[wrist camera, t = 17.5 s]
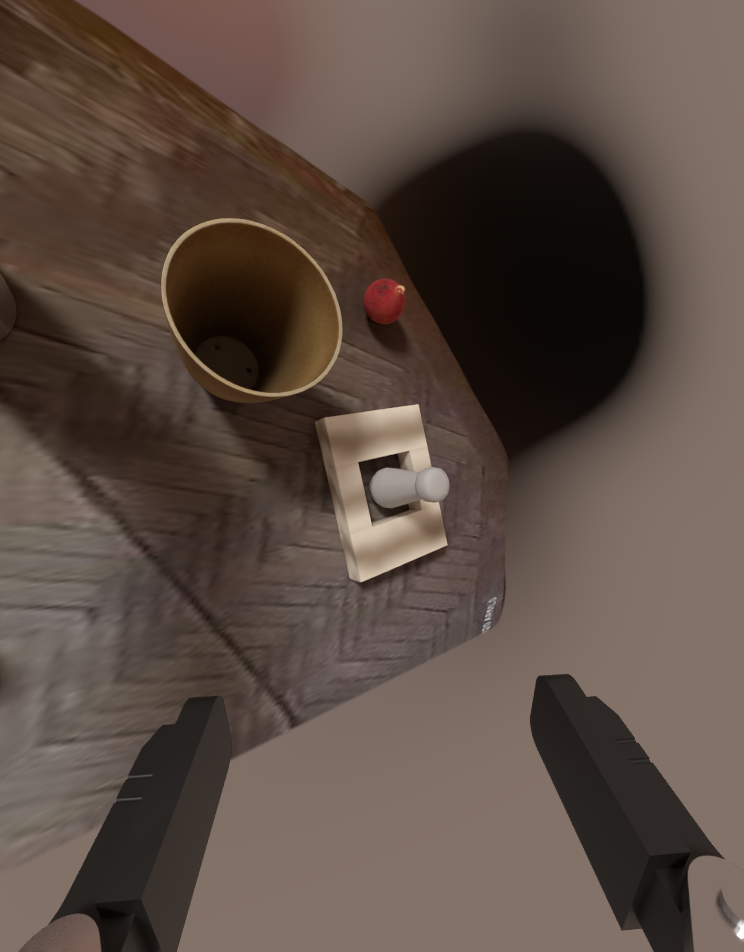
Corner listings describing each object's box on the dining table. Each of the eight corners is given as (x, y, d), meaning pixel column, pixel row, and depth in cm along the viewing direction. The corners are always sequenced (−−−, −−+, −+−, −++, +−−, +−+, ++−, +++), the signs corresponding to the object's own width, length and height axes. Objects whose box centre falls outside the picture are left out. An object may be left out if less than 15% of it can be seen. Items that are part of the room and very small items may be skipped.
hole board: (314, 422, 51) (324, 417, 48) (406, 408, 59) (418, 404, 57) (349, 578, 52) (360, 582, 49) (434, 543, 60) (447, 545, 58)
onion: (349, 318, 55) (379, 292, 48) (359, 286, 56) (390, 256, 49) (381, 339, 58) (413, 317, 51) (390, 307, 59) (423, 282, 52)
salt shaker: (378, 460, 56) (438, 449, 45) (401, 487, 58) (464, 483, 47) (355, 489, 53) (413, 485, 42) (380, 516, 55) (441, 518, 44)
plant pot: (257, 296, 48) (305, 214, 34) (302, 408, 50) (364, 372, 36) (127, 315, 40) (124, 218, 26) (187, 446, 42) (212, 419, 29)
